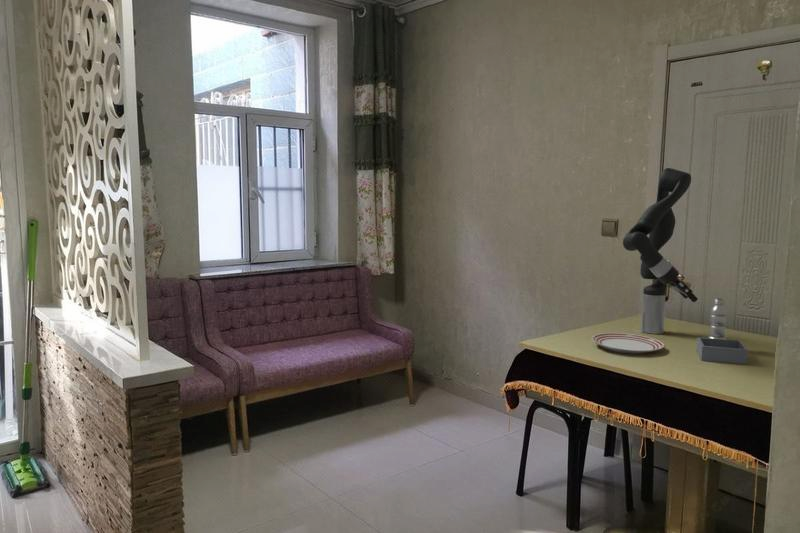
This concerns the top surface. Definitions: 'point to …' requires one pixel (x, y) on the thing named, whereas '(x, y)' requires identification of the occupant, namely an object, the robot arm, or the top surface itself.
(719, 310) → the plastic bottle
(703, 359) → the tray
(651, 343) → the dinner plate
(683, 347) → the top surface
